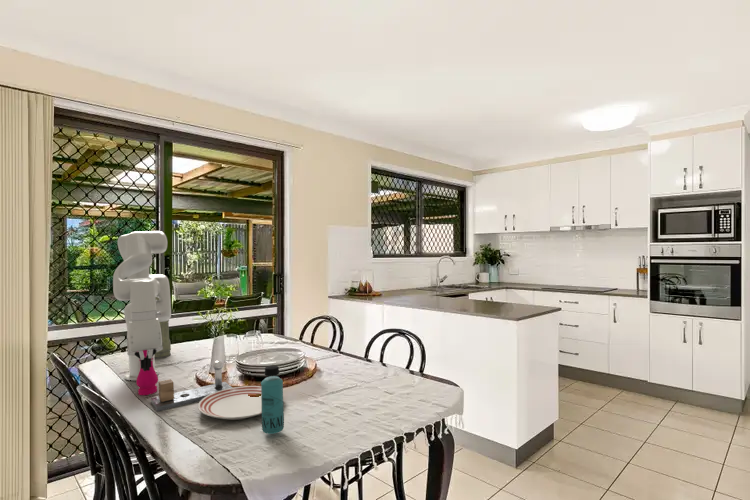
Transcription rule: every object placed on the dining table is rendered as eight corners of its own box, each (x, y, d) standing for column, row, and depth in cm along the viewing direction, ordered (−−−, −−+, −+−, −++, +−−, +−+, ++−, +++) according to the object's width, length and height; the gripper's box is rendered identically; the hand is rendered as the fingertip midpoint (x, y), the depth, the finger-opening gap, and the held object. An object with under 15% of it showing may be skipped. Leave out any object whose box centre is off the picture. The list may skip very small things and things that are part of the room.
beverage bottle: (263, 429, 128) (261, 363, 128) (286, 428, 129) (284, 362, 128) (259, 440, 122) (257, 370, 121) (283, 438, 123) (281, 369, 122)
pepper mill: (149, 396, 158) (147, 342, 157) (132, 395, 159) (129, 342, 158) (162, 389, 165) (160, 337, 164) (146, 388, 166) (144, 337, 165)
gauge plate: (151, 402, 152) (149, 370, 151) (225, 385, 168) (224, 356, 167) (157, 411, 144) (155, 377, 143) (234, 392, 160) (233, 361, 159)
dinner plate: (283, 390, 162) (282, 381, 161) (283, 421, 135) (283, 410, 135) (205, 397, 156) (205, 388, 156) (190, 431, 129) (189, 420, 129)
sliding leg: (159, 398, 150) (158, 381, 150) (171, 395, 153) (170, 379, 153) (161, 401, 147) (160, 384, 147) (174, 399, 150) (173, 382, 150)
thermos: (177, 353, 216) (174, 284, 214) (157, 359, 205) (154, 286, 204) (164, 351, 219) (161, 283, 218) (144, 358, 208) (141, 286, 207)
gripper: (165, 312, 153) (167, 363, 153) (116, 317, 144) (119, 372, 144) (170, 314, 147) (172, 367, 147) (120, 320, 138) (122, 377, 138)
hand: (146, 369), depth 146 cm, fingers closed
